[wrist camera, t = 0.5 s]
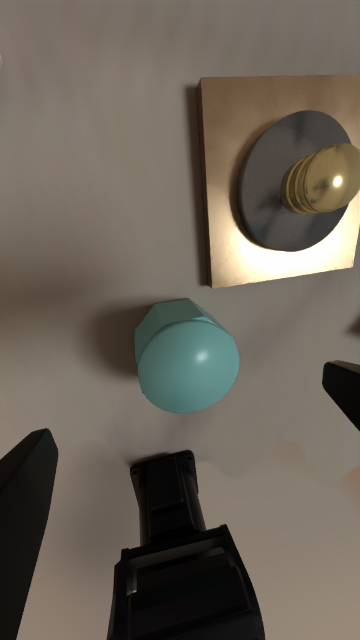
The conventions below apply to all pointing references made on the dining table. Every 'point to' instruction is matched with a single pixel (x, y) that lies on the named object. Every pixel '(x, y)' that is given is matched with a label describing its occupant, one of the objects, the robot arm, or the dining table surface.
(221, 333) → the cap
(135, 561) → the robot arm
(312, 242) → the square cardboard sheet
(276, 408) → the dining table surface
